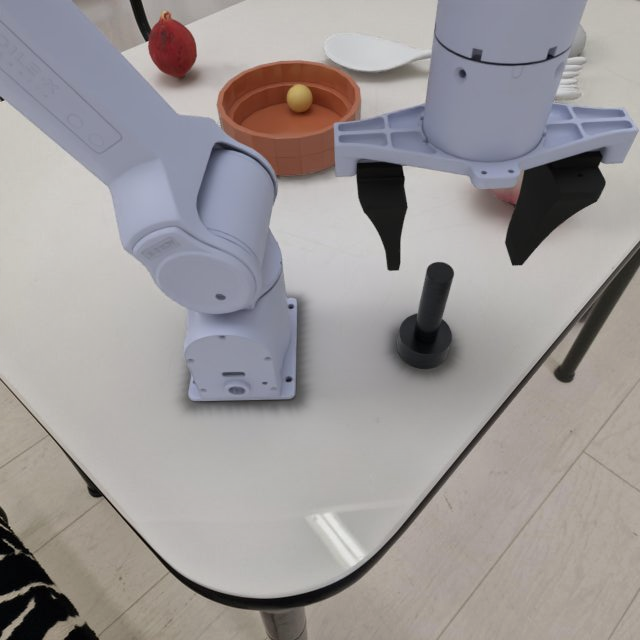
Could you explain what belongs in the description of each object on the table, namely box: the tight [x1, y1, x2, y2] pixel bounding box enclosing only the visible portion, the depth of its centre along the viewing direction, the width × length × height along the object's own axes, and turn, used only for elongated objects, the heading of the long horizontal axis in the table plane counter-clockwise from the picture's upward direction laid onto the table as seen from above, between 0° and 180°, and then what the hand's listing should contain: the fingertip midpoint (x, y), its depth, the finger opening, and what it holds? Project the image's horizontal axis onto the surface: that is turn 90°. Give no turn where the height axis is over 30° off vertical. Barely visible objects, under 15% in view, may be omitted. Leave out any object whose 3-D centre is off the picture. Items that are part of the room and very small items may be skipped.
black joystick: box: [396, 261, 455, 370], centre depth 37 cm, size 4×4×9 cm
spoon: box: [322, 31, 588, 101], centre depth 64 cm, size 9×32×4 cm, turn 69°
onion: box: [147, 9, 198, 80], centre depth 64 cm, size 6×6×8 cm
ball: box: [287, 84, 313, 113], centre depth 59 cm, size 3×3×3 cm
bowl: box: [216, 59, 362, 177], centre depth 56 cm, size 15×15×5 cm
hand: (452, 256), depth 33 cm, fingers open, 7 cm apart
